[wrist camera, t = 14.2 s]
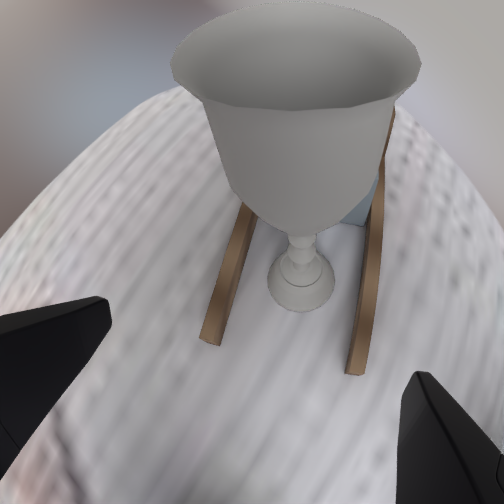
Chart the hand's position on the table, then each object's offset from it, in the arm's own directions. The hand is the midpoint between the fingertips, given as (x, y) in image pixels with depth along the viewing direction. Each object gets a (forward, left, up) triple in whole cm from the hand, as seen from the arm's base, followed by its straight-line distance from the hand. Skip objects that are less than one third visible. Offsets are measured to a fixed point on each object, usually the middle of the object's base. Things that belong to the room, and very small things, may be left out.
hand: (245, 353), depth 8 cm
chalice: (+4, +6, -14) cm, 16 cm away
